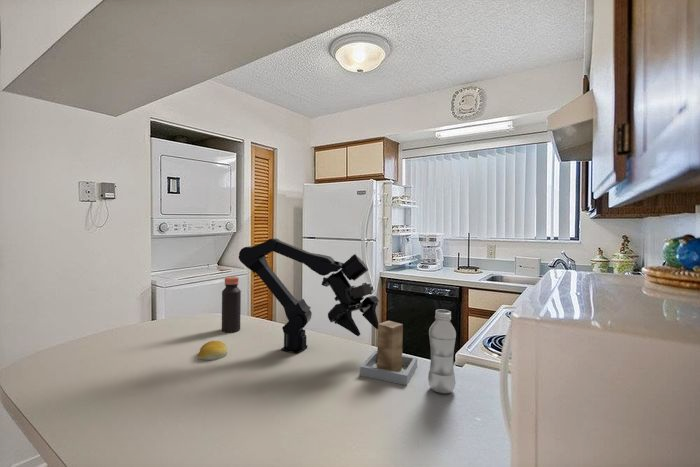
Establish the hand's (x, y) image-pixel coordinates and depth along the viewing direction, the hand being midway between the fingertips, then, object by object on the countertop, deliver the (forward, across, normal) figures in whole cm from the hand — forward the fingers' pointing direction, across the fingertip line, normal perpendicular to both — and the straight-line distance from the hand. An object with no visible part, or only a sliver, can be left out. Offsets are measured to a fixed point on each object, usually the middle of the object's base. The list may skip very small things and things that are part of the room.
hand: (369, 331), depth 100 cm
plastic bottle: (+23, 0, -10) cm, 25 cm away
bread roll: (-20, -28, +35) cm, 49 cm away
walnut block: (+12, 0, +1) cm, 12 cm away
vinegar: (-33, -12, +47) cm, 59 cm away
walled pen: (+12, 0, +1) cm, 12 cm away
